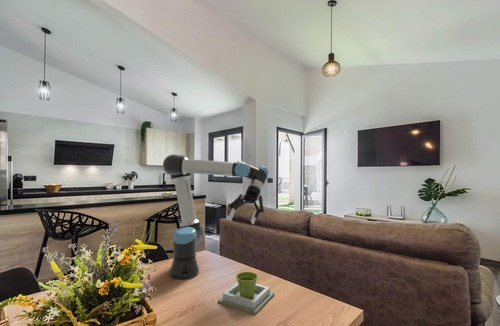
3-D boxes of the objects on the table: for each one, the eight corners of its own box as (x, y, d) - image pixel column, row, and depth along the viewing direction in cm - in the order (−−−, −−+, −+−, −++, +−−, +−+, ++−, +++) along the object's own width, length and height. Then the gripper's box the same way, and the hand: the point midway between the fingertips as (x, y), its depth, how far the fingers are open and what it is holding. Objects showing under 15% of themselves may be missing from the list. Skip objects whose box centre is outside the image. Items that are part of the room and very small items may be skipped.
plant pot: (255, 302, 106) (256, 281, 106) (233, 300, 108) (233, 279, 108) (259, 292, 115) (259, 272, 116) (238, 290, 117) (238, 270, 117)
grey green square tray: (217, 302, 108) (217, 294, 108) (240, 285, 124) (240, 278, 124) (255, 314, 99) (255, 305, 99) (274, 294, 115) (274, 286, 115)
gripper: (277, 195, 139) (264, 228, 126) (238, 192, 152) (223, 222, 138) (273, 185, 135) (259, 219, 122) (233, 184, 147) (217, 214, 134)
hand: (240, 221), depth 130 cm, fingers open, 13 cm apart
